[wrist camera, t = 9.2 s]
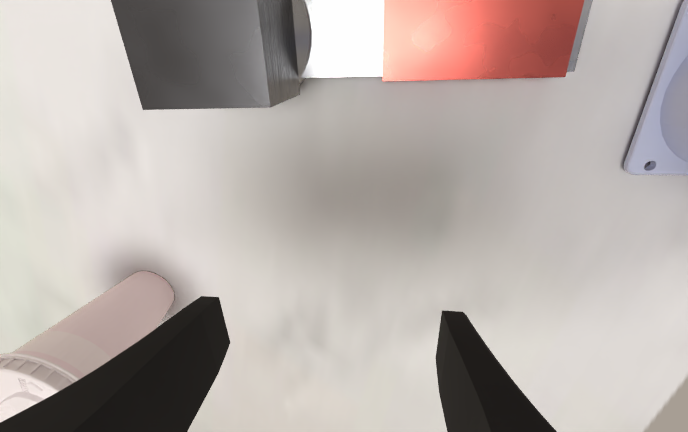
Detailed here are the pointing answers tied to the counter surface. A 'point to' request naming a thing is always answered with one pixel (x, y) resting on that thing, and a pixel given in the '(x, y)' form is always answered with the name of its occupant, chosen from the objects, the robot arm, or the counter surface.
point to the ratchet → (438, 38)
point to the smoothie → (82, 341)
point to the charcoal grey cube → (210, 52)
